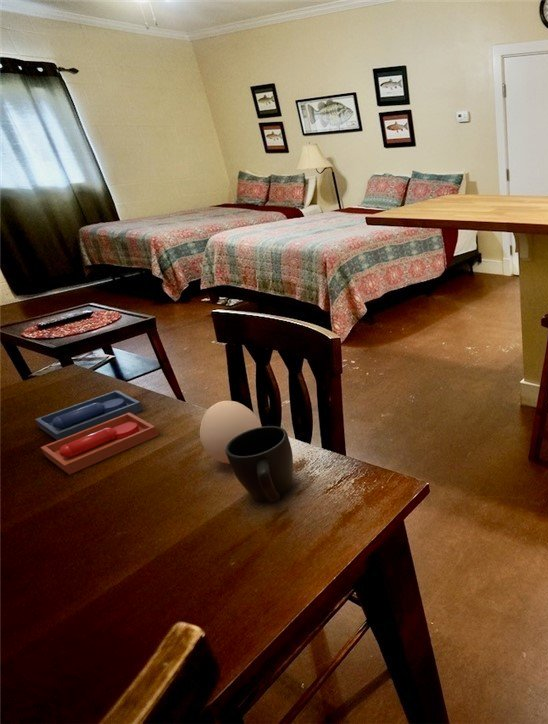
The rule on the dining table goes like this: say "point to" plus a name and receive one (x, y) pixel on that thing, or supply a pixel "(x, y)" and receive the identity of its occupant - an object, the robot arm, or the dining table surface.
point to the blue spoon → (87, 412)
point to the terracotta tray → (102, 450)
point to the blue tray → (60, 433)
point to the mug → (262, 462)
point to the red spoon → (98, 439)
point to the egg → (225, 427)
